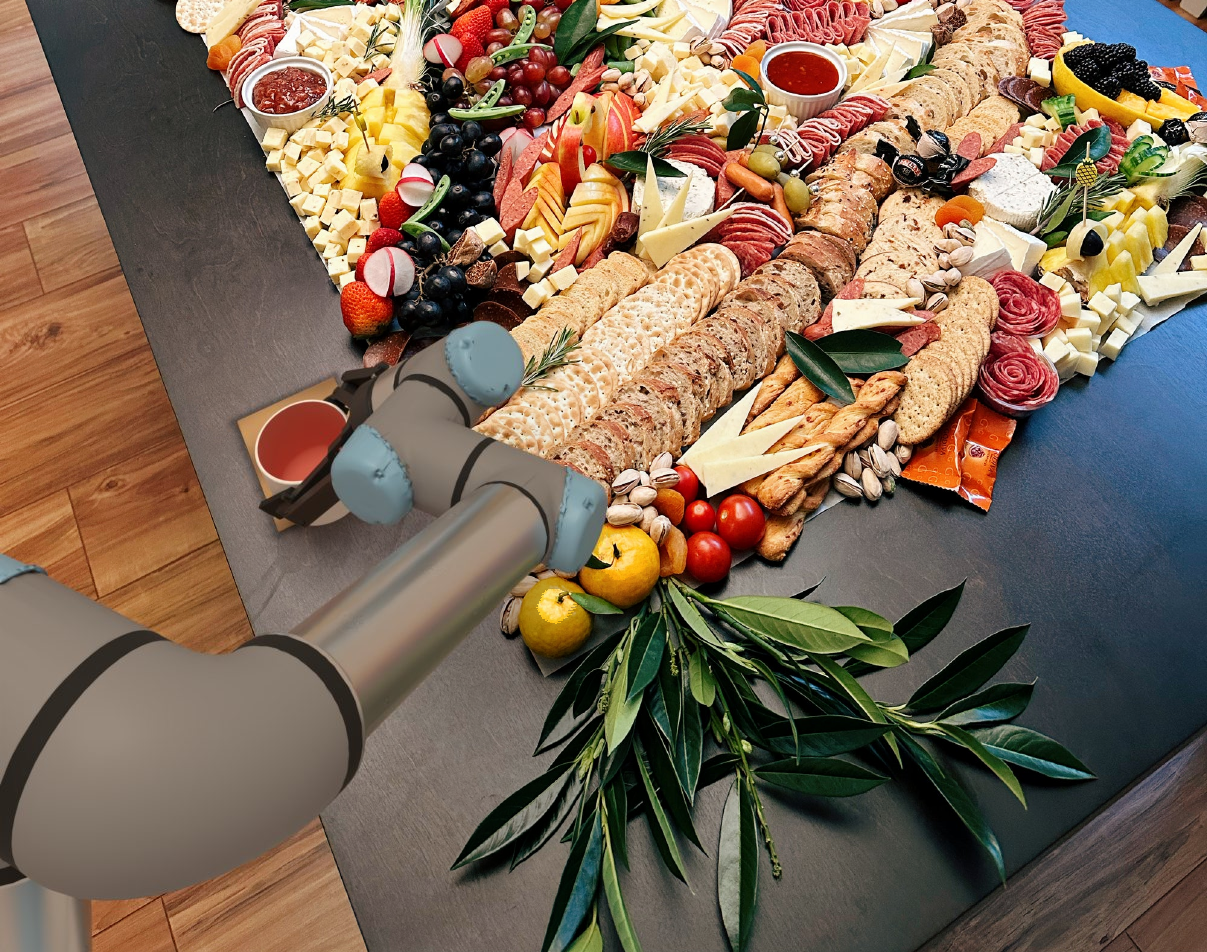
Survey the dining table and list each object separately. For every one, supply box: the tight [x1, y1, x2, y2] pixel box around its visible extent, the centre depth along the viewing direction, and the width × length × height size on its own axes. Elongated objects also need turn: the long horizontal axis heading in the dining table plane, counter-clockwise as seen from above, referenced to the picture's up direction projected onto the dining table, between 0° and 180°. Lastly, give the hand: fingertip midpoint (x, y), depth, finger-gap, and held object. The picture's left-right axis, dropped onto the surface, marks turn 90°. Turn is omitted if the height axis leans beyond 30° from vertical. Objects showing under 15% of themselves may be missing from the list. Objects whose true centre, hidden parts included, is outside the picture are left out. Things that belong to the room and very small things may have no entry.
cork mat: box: [236, 376, 350, 533], centre depth 132 cm, size 16×12×1 cm
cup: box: [255, 400, 351, 527], centre depth 123 cm, size 10×10×10 cm
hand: (289, 465), depth 125 cm, fingers closed on cup, 10 cm apart
